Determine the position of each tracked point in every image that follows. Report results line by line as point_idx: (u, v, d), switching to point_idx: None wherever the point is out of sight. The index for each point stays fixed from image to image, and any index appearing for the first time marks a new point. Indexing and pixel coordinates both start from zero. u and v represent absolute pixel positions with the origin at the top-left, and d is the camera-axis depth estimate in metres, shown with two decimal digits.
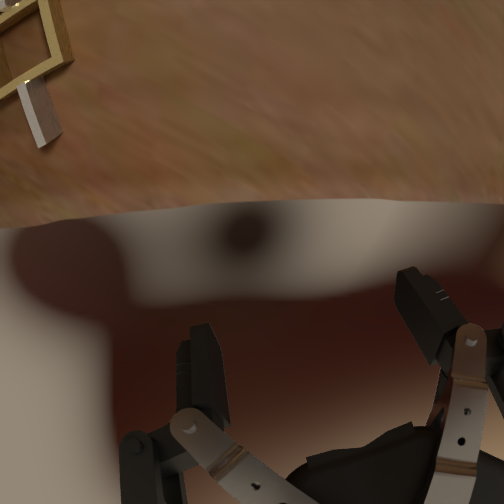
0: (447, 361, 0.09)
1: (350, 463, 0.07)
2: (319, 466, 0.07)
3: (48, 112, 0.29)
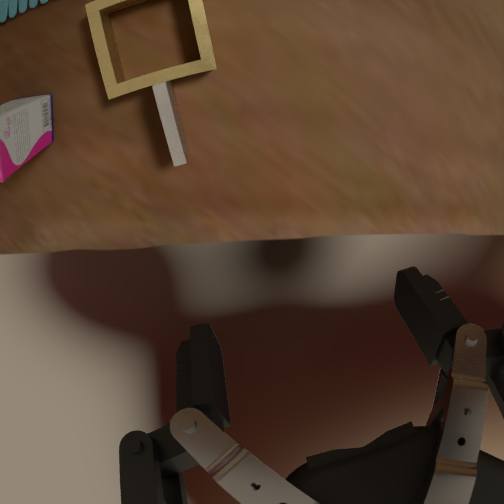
0: (447, 361, 0.09)
1: (350, 463, 0.07)
2: (319, 466, 0.07)
3: (180, 123, 0.30)
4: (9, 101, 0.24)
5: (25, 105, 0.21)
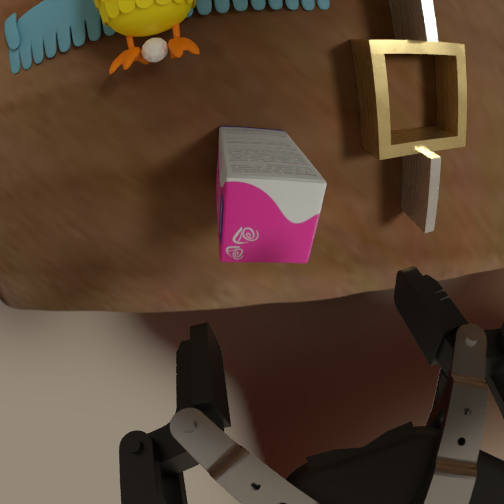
0: (446, 361, 0.09)
1: (350, 463, 0.07)
2: (319, 466, 0.07)
3: None
4: (225, 129, 0.24)
5: (302, 153, 0.21)
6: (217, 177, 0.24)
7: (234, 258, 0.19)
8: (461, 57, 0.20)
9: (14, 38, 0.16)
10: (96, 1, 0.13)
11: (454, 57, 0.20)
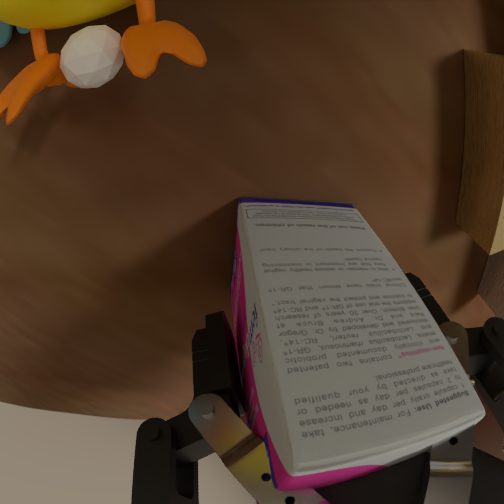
0: None
1: None
2: None
3: None
4: (251, 212, 0.13)
5: (411, 286, 0.10)
6: (239, 315, 0.12)
7: None
8: None
9: None
10: None
11: None
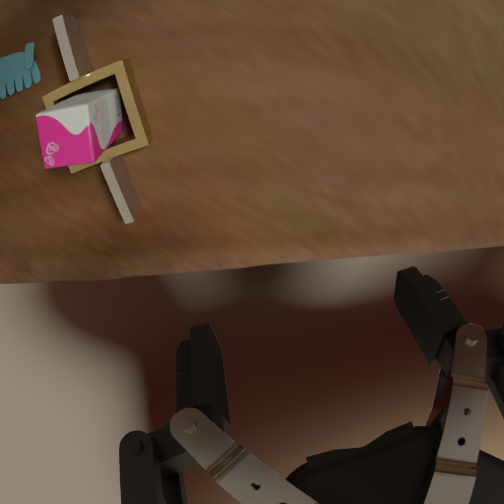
0: (446, 361, 0.09)
1: (350, 463, 0.07)
2: (319, 466, 0.07)
3: (129, 186, 0.37)
4: (77, 95, 0.30)
5: (105, 95, 0.27)
6: None
7: (50, 165, 0.25)
8: (120, 72, 0.28)
9: None
10: None
11: None
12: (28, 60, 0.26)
